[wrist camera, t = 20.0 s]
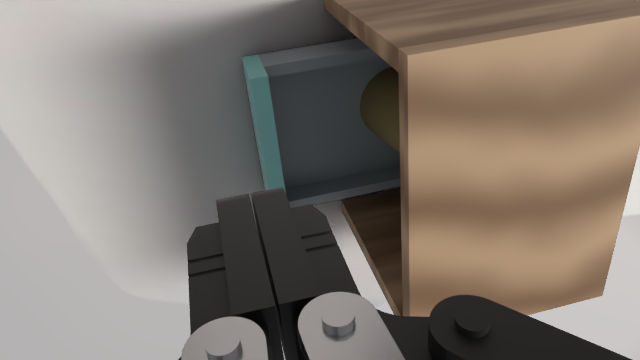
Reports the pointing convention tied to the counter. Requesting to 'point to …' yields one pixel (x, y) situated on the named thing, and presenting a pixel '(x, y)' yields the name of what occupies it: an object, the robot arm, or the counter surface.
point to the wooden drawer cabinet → (501, 148)
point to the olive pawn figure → (382, 106)
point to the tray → (318, 122)
